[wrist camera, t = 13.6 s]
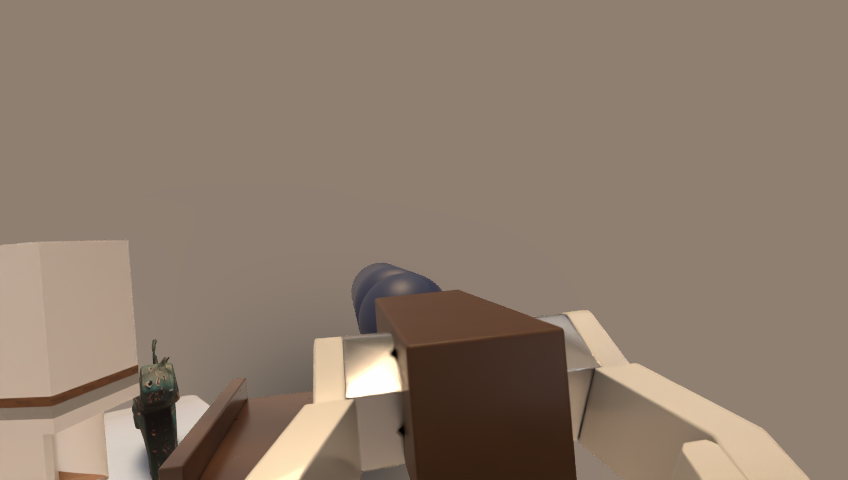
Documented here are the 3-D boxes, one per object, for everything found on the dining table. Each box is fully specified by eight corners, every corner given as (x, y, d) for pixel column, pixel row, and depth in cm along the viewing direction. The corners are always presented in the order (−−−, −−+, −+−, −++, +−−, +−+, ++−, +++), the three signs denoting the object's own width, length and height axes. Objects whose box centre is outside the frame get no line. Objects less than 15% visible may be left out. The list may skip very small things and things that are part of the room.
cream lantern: (70, 632, 47) (38, 241, 47) (-33, 629, 48) (-64, 250, 48) (153, 554, 58) (127, 240, 58) (67, 554, 60) (42, 247, 60)
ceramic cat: (187, 478, 78) (176, 343, 78) (137, 492, 74) (126, 351, 74) (177, 439, 95) (168, 328, 95) (136, 448, 92) (127, 334, 92)
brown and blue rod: (607, 510, 8) (588, 297, 8) (394, 547, 7) (374, 320, 7) (408, 314, 31) (403, 259, 31) (353, 320, 30) (348, 264, 30)
